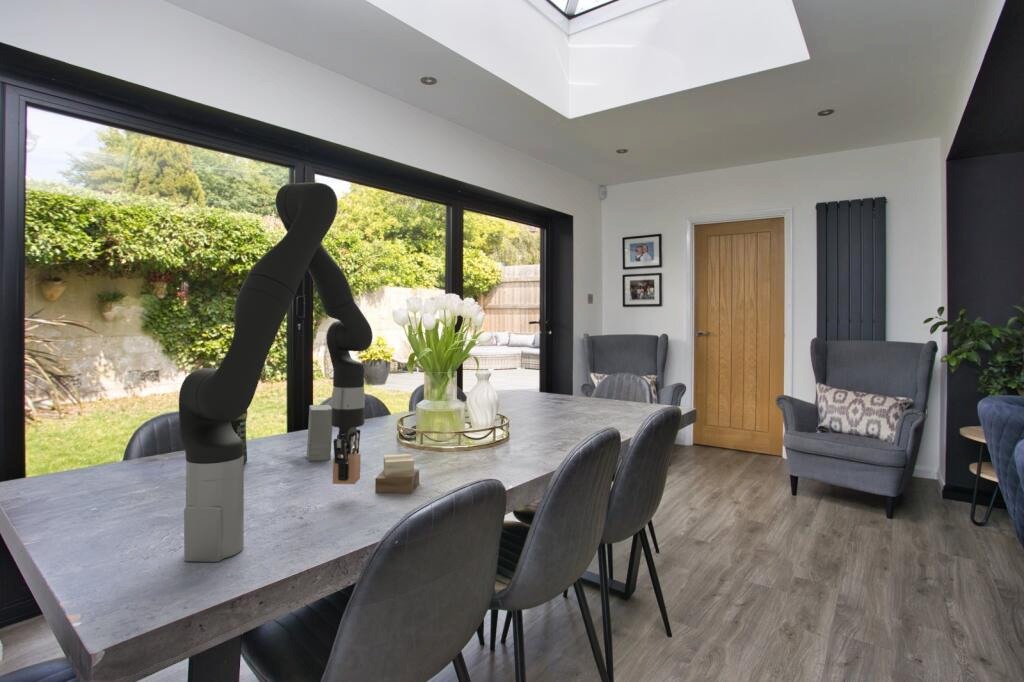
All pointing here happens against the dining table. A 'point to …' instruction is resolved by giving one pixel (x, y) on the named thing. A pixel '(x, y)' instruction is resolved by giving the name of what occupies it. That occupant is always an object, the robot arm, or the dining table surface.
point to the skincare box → (319, 433)
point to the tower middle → (398, 466)
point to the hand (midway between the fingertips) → (346, 476)
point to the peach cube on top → (353, 470)
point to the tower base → (396, 483)
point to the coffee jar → (241, 431)
